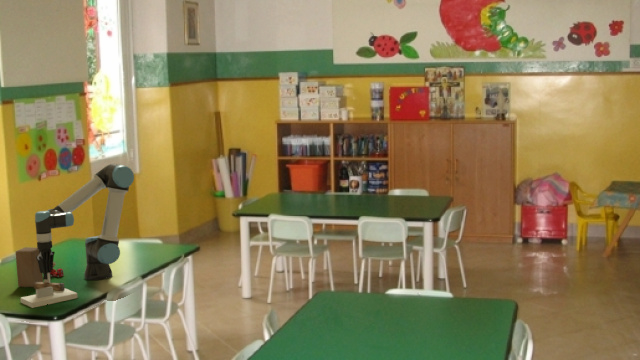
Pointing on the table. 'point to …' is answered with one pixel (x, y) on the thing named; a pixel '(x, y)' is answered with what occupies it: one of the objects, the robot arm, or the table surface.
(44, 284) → the folding leg
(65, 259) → the table surface
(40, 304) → the white slotted base
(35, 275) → the block
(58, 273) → the toy fire truck
